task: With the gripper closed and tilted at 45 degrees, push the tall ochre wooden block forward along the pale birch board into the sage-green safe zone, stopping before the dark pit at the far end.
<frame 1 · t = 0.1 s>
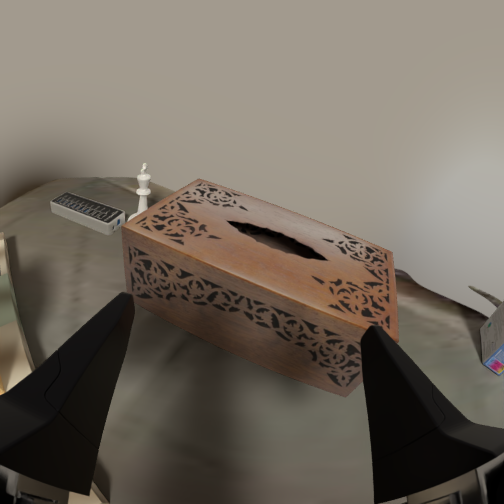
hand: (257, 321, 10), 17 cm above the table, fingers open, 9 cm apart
multiport hub: (85, 219, 41), on the table
chess piece: (142, 225, 42), on the table
tissue box cover: (254, 310, 33), on the table
ink cartridge box: (489, 352, 33), on the table
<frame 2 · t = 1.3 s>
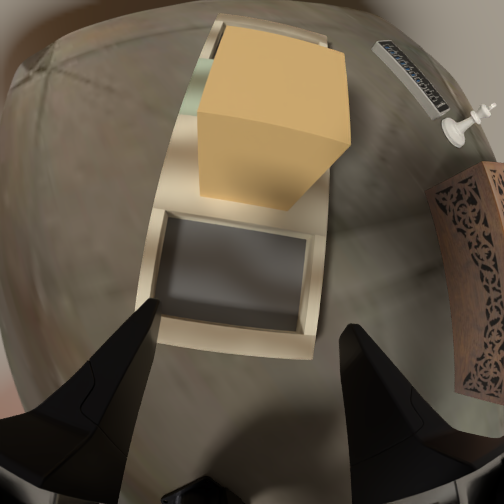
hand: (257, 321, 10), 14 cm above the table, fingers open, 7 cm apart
multiport hub: (407, 82, 33), on the table
chess piece: (451, 133, 32), on the table
trap board: (251, 143, 26), on the table
tissue box cover: (476, 282, 29), on the table
ochre block: (250, 164, 23), point 2 cm above the table, touching trap board
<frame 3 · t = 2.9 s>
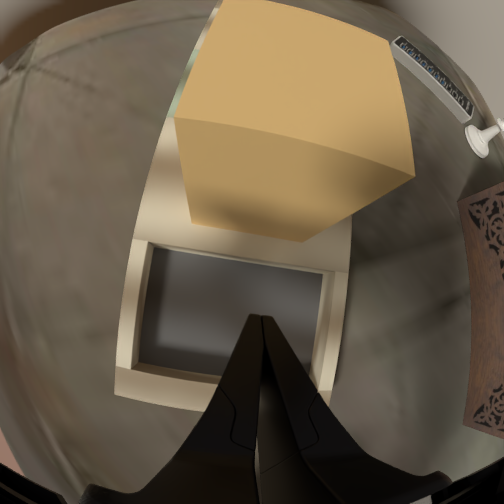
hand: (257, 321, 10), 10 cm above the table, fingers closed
multiport hub: (427, 83, 28), on the table
chess piece: (474, 142, 27), on the table
trap board: (256, 153, 21), on the table
tissue box cover: (497, 307, 24), on the table
ochre block: (255, 181, 18), point 2 cm above the table, touching trap board
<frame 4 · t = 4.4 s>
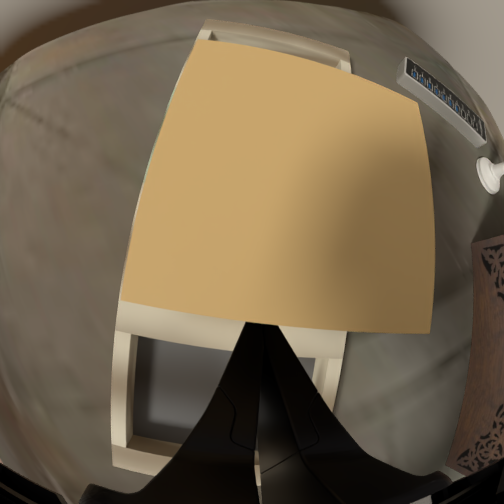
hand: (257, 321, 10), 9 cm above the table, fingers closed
multiport hub: (439, 108, 27), on the table
chess piece: (485, 176, 26), on the table
trap board: (247, 219, 20), on the table
tissue box cover: (496, 352, 23), on the table
ochre block: (247, 247, 17), point 3 cm above the table
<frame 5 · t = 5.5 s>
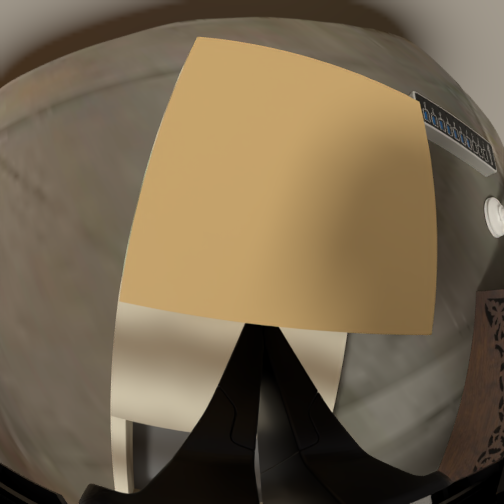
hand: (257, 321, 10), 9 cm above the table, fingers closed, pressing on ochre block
multiport hub: (448, 141, 25), on the table
chess piece: (492, 218, 25), on the table
trap board: (235, 302, 18), on the table
tissue box cover: (487, 396, 22), on the table
ochre block: (247, 246, 17), point 3 cm above the table, touching gripper
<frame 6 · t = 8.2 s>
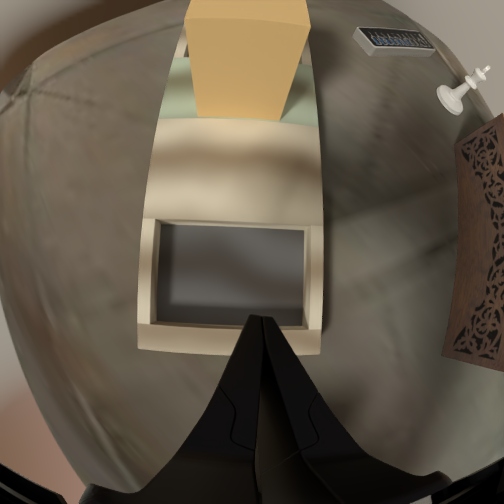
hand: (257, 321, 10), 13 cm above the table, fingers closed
multiport hub: (393, 47, 29), on the table
chess piece: (448, 101, 29), on the table
trap board: (237, 138, 25), on the table
tissue box cover: (488, 254, 27), on the table
ochre block: (240, 87, 23), point 2 cm above the table, touching trap board
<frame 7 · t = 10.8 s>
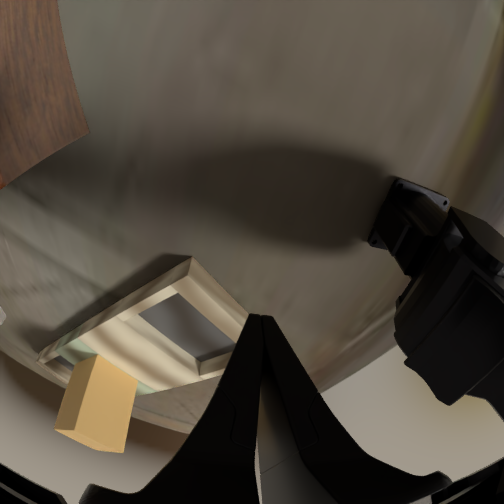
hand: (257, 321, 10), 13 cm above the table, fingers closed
trap board: (125, 352, 34), on the table
ochre block: (105, 372, 33), point 2 cm above the table, touching trap board
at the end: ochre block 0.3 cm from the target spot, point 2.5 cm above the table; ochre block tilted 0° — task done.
